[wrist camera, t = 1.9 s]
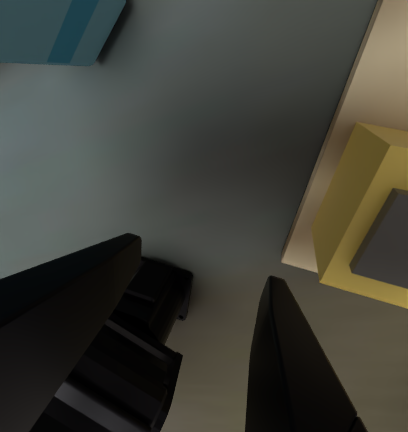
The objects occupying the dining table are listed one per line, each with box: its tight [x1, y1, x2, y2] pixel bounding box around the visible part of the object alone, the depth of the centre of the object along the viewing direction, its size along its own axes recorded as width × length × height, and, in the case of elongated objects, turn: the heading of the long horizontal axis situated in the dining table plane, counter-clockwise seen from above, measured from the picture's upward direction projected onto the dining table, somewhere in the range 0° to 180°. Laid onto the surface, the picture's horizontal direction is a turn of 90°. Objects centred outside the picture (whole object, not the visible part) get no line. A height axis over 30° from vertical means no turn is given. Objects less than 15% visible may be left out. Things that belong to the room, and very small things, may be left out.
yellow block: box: [311, 122, 408, 309], centre depth 13 cm, size 7×6×6 cm
